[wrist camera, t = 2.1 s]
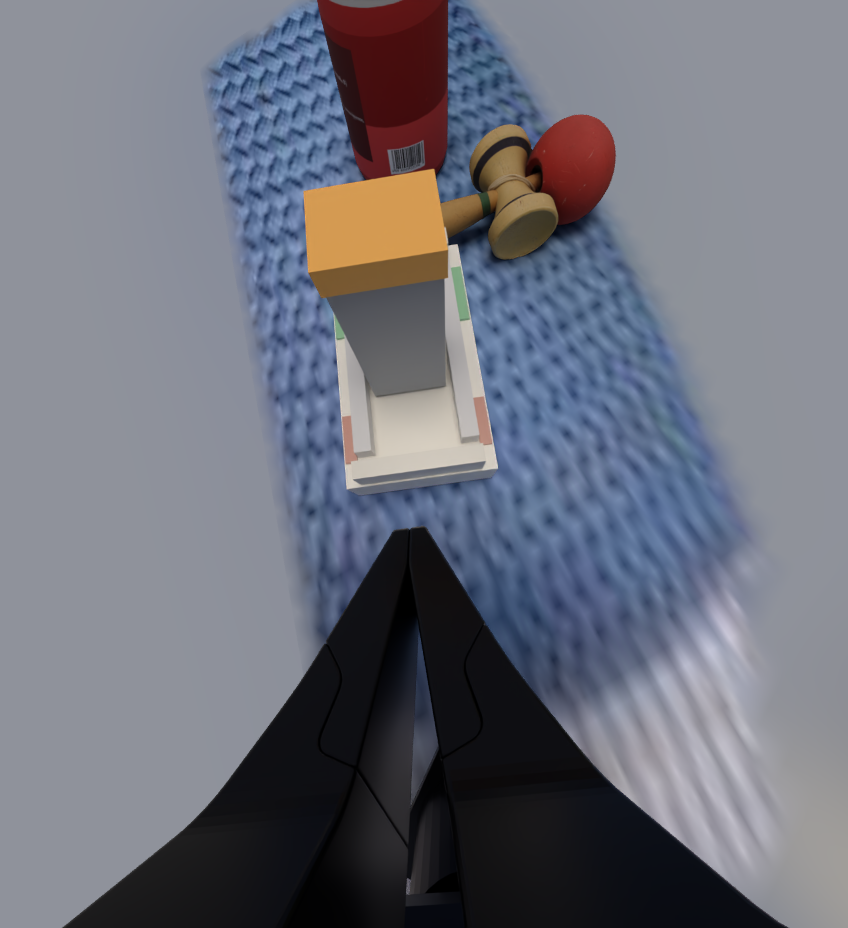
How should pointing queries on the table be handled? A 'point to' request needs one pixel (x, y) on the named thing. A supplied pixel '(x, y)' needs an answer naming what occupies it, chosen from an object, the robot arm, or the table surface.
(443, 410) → the railed base plate
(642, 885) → the robot arm
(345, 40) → the canned food
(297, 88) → the table surface
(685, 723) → the table surface
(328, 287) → the handle
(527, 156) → the kendama
